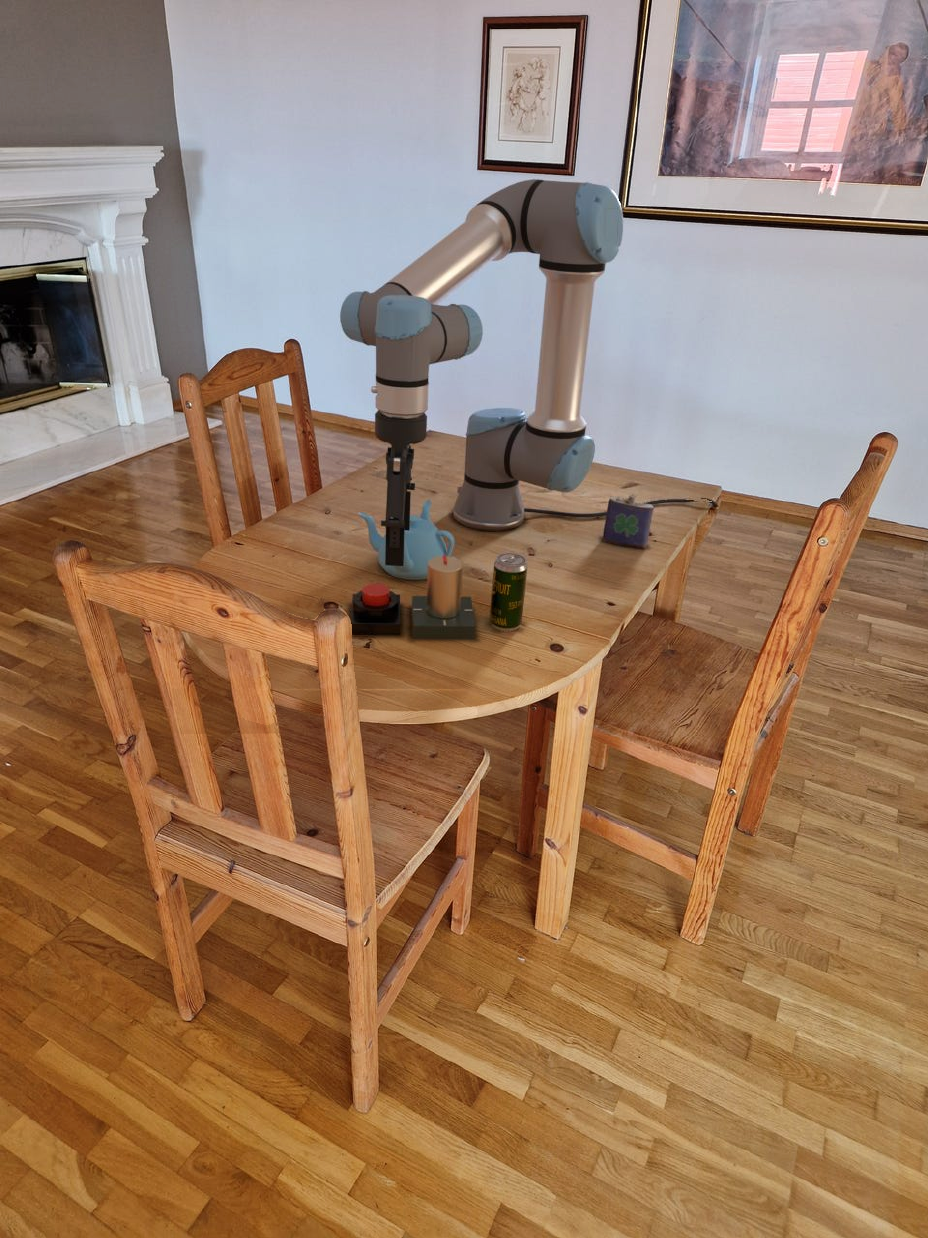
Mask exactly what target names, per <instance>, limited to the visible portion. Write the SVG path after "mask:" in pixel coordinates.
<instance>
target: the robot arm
mask: <svg viewBox="0 0 928 1238" xmlns="http://www.w3.org/2000/svg"><path fill="white" fill-rule="evenodd" d="M623 233H624V214H623V209H622V205H621V202H620V201H619V197H618V195H617V193H616V192H615V191H614V190H613V189H612V188H611V187H608V186H607V185H604V184H597V183H592V182H589V181H586V182H582V181H581V182H578V181H560V180H548V179H547V180H545V179H538V178H537V179H535V178H533V179H526V180H521V181H517V182H515V183H512V184H510V185H508V186H506V187H504V188H502V189H500V190H497V191H496V192H494V193H492V194H490V195H489V196H487V197H486V198H484V199H483V200H481V201H479V203H477V204H476V205H474V206H472V208H471V209H470V210H469V211H468V213H467V214H466V217H465V221H464V222H463V223H461V224H460V225H459V226H458V227H456V228H455V229H454V230H453V231H452V232H450V233H448V234H446V236H445V237H444V238H442V239H441V240H440V241H438V242H437V243H436V244H435V245H433V246H432V247H431V248H429V249H428V250H427V251H426V252H424V253H423V254H422V255H420V256H419V257H418V258H417V259H415V260H414V261H413V262H411V263H410V264H409V265H408V266H406V267H405V268H403V269H402V270H401V271H399V272H398V273H397V274H396V275H394V276H393V277H392V278H391V279H389V280H388V281H387V282H386V283H384V284H383V285H382V286H380V287H379V288H378V289H376V290H375V291H374V292H369V291H366V290H363V291H353V292H351V293H350V294H348V295H347V296H346V297H345V299H344V300H343V302H342V305H341V307H340V308H341V309H340V313H339V318H340V319H339V320H340V321H339V322H340V325H341V328H342V331H343V333H344V335H345V336H346V337H347V338H348V339H349V340H351V341H354V342H358V343H361V344H364V345H366V346H367V347H368V346H369V347H370V346H371V347H375V385H374V386H371V389H370V392H371V393H372V394H376V395H375V408H376V409H377V411H376V412H375V413H374V435H375V437H376V439H378V441H381V442H383V443H388V444H390V445H391V446H388V447H387V450H386V451H387V452H386V453H385V464H386V471H385V472H386V474H385V477H386V483H387V487H386V503H385V520H380V526H381V527H385V534H386V546H385V565H389V566H403V565H404V534H405V530H408V531H409V529H410V516H411V497H412V496H411V494H412V491H415V490H416V483H415V482H412V480H413V476H412V469H413V464H414V459H415V448H412V444H413V445H416V444H419V443H421V442H423V441H425V440H426V439H427V431H428V416H427V414H426V412H427V411H428V409H429V389H430V382H429V376H430V375H429V373H430V365H434V364H438V363H443V362H448V361H453V360H456V361H457V360H461V359H462V358H464V357H466V356H469V355H471V354H473V353H474V352H476V351H477V349H478V348H479V347H480V345H481V342H482V340H483V334H484V333H483V331H484V329H483V323H482V320H481V318H480V315H479V314H478V312H476V310H475V309H474V308H472V307H471V306H469V305H467V304H456V303H450V304H449V305H448V304H447V305H441V303H442V302H443V301H445V300H446V299H447V298H449V296H450V295H452V294H453V293H454V292H455V291H456V290H458V289H459V288H460V287H461V286H463V284H465V283H466V282H467V281H468V280H470V279H471V278H472V277H473V276H474V275H475V274H477V273H478V272H479V271H480V270H481V269H483V268H484V267H485V266H486V265H488V264H489V263H490V262H497V261H501V260H503V259H504V258H505V257H506V256H508V255H510V254H513V253H529V254H530V253H531V254H535V255H539V259H538V269H539V270H540V271H541V273H542V275H544V277H545V279H546V280H545V288H544V289H545V291H544V302H543V312H542V313H543V314H542V324H541V325H542V326H541V334H540V335H541V337H540V347H539V360H538V370H537V383H536V384H537V385H536V395H535V405H534V406H535V407H534V411H533V412H532V413H530V414H529V415H528V416H526V412H525V411H524V410H522V409H519V408H512V407H494V408H486V409H485V408H484V409H481V410H477V411H475V412H473V413H472V414H471V415H469V418H468V420H467V427H466V432H465V437H466V438H465V452H464V453H465V457H464V459H465V460H464V474H463V475H464V476H463V483H462V485H461V486H457V494H458V495H457V497H456V500H455V503H454V506H453V518H454V519H455V520H456V522H457V523H459V524H461V525H463V526H465V527H467V528H470V529H474V530H480V531H488V532H499V531H508V530H512V529H515V528H518V527H519V526H521V525H522V524H523V523H524V521H525V513H534V514H543V515H544V514H545V515H552V516H561V517H568V518H569V517H571V518H595V517H596V518H599V517H606V515H607V511H601V512H592V513H591V512H589V513H588V512H587V513H580V512H579V513H577V512H565V511H557V510H550V509H549V510H547V509H539V508H531V507H530V508H529V507H524V502H523V499H522V494H521V490H520V482H523V483H527V484H530V485H533V486H536V487H540V488H544V489H546V490H548V491H555V492H560V493H563V494H564V493H565V494H566V493H571V492H573V491H575V490H576V489H578V487H579V486H580V485H582V483H583V482H584V480H585V479H586V477H587V475H588V473H589V471H590V469H591V467H592V464H593V461H594V458H595V452H596V444H595V440H594V439H593V438H592V437H591V436H590V435H586V431H587V430H586V429H587V421H586V420H585V418H584V417H582V415H581V414H580V413H581V406H582V396H583V387H584V379H585V371H586V370H585V369H586V361H587V353H588V344H589V336H590V335H589V334H590V327H591V318H592V309H593V301H594V292H595V284H596V283H595V282H596V281H597V279H599V278H600V277H601V276H602V275H603V274H604V273H605V271H606V265H607V263H610V262H612V261H613V260H615V259H616V257H617V255H618V254H619V251H620V248H619V247H621V244H622V241H623V235H624V234H623ZM700 498H701V499H707V500H709V501H712V502H708V503H709V504H712V506H713V507H715V508H719V507H720V506H719V504H718V503H717V502H716V501H715V500H713V499H711V498H707V497H700ZM665 499H667V500H665ZM665 499H664V498H663V499H654V500H648V501H644V502H643V503H644V504H651V505H652V506H653V505H658V504H668V503H694V502H695V503H696V502H697V501H694V500H686V499H687V498H665ZM655 500H657V501H655ZM649 501H650V502H649ZM645 502H646V503H645ZM704 502H705V503H706V501H704Z"/></svg>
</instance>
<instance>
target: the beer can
mask: <svg viewBox="0 0 928 1238" xmlns="http://www.w3.org/2000/svg"><path fill="white" fill-rule="evenodd" d="M527 574H528V564H527V558H526V557H525V556H524V555H521V554H519V553H517V552H516V553H514V552H503V553H500V554H498V555H497V556H496V557H495V561H494V563H493V571H492V584H491V593H490V595H491V596H490V609H489V623H490V625H491V627H492V628H494V629H496V630H497V631H500V632H514V631H516V630H518V629H519V628H520V626H521V625H522V622H523V615H524V605H525V604H524V603H525V594H526V585H527Z"/></svg>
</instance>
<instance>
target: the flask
mask: <svg viewBox="0 0 928 1238" xmlns="http://www.w3.org/2000/svg"><path fill="white" fill-rule="evenodd" d="M637 497H638V495H637V494H635V493H632V494H629V495H628V498H627V497H626V498H624V497H621V496H617V497H610V498H609V499H608V503H607V508H606V512H607V515H606V516H605V521H604V527H603V535H602V541H604V542H607V543H611V544H614V545H618V546H624V547H630V548H636V549H646V548H647V546H648V541H649V536H650V531H651V524H652V518H653V514H654V511H655V510H654V509H655V507H654V505H653V504H652V505H651V504H644V502H637V501H636V500H635V499H636V498H637Z"/></svg>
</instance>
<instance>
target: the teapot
mask: <svg viewBox="0 0 928 1238" xmlns="http://www.w3.org/2000/svg"><path fill="white" fill-rule="evenodd" d="M431 505H432V500H431V499H427V500H425V502H424V503H423V504H422V508H421V513H420V516H419V515H414V514H410V529H409V531H408V530H405V534H404V565H403V566H389V565H385V546H386V533H384V536H382V535H381V534H380V533H379V532H378V530H377V526H376V522H375V520H374V518H373V517H372V516H371V515H370V514H367V513H365V512H358V515H359V516H361V518H362V519H364V521H365V523H366V525H367V526H366V527H367V532H368V541H369V544H370V546H371V548H372V549H373V550H374V551H375V552H377V561H378V564H379V565H380V567H381V568H382V569H383V571H385V572H386V573H387V574H388V575H390V576H392V577H394V578H397V579H401V580H406V581H407V580H408V581H420V580H427V574H428V561H429V560H430V559H432V558H435V557H440V556H443V555H447V556H448V557H453V558H456V557H455V556H454V555H452V554H453V550H454V547H455V538H454V536H453V534H452V533H451V532H449V531H447V530H442V529H441V530H439V529H438V527H437V525H435V524H434V523H433V522H432V521H431V507H432V506H431ZM443 537H445V538H446V539H448V542H449V543H448V548H447V545H446V542H445V540H444V538H443Z"/></svg>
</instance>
